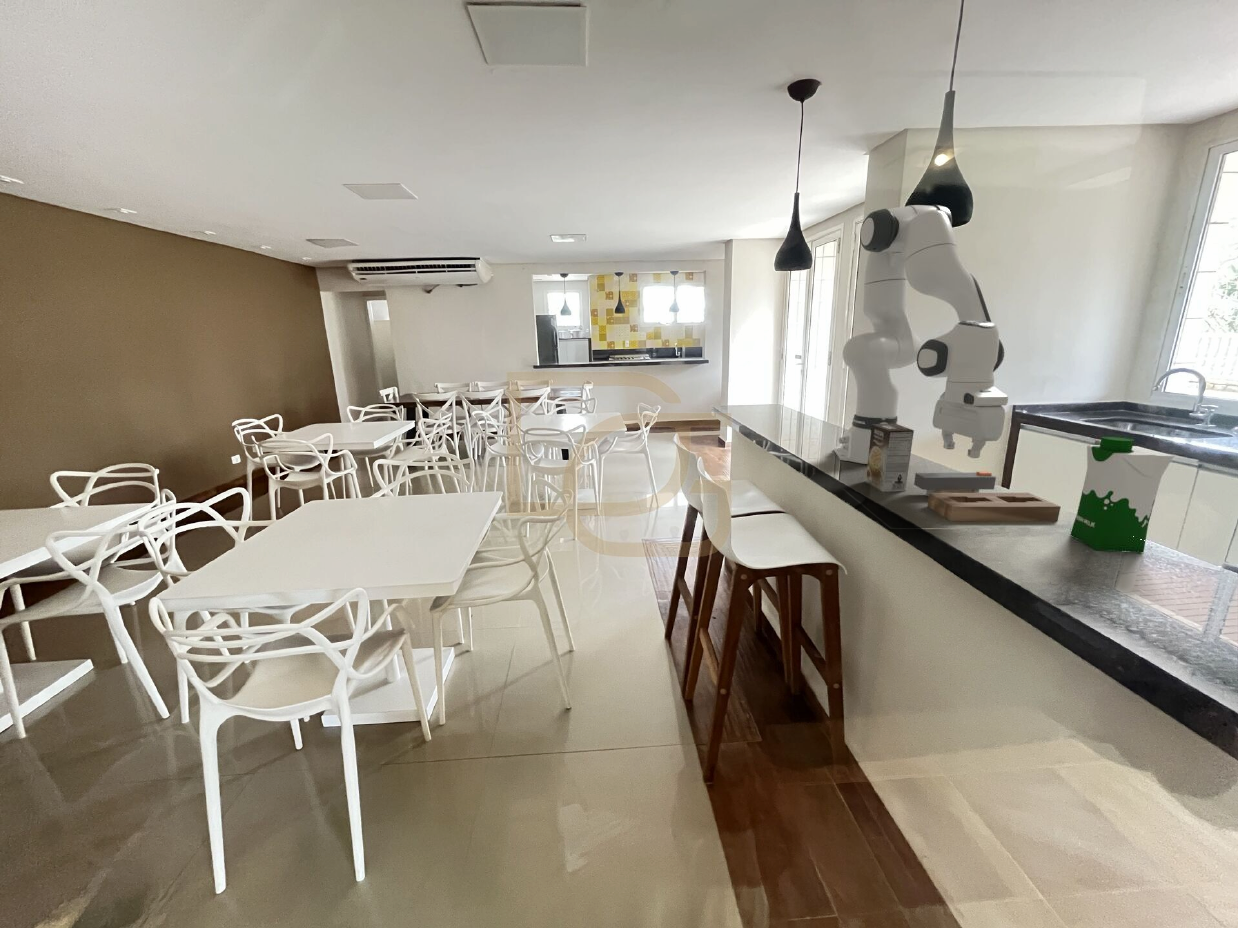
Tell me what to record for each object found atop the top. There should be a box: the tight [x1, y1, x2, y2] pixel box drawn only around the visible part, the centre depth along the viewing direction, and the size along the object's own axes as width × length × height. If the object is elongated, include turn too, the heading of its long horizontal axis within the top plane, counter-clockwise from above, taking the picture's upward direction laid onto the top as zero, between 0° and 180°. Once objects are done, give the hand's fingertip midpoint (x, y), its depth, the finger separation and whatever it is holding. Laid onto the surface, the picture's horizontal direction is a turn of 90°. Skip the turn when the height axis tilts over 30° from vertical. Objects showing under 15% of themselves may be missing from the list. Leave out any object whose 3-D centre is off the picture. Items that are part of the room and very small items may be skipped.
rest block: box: [935, 489, 972, 493], centre depth 115 cm, size 3×7×2 cm, turn 85°
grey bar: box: [913, 471, 997, 497], centre depth 115 cm, size 4×16×6 cm, turn 85°
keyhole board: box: [926, 492, 1061, 522], centre depth 103 cm, size 9×21×4 cm, turn 85°
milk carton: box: [1070, 435, 1174, 554], centre depth 86 cm, size 9×9×20 cm
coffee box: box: [865, 423, 915, 493], centre depth 122 cm, size 9×6×16 cm
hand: (960, 453), depth 112 cm, fingers open, 8 cm apart
